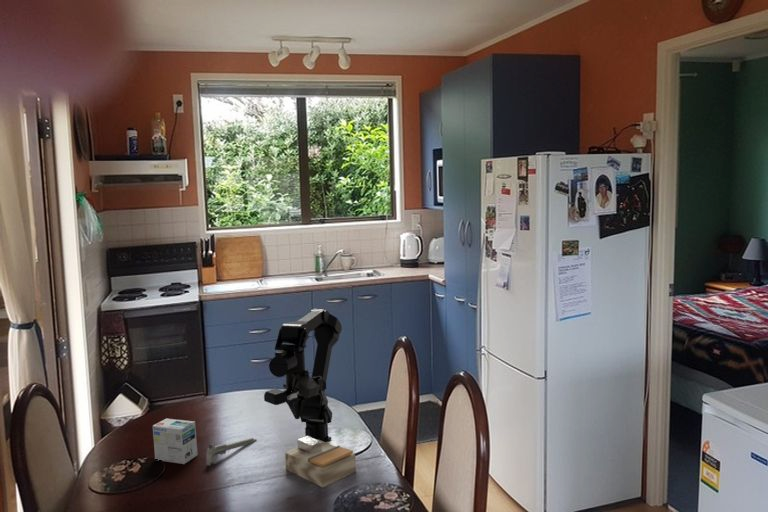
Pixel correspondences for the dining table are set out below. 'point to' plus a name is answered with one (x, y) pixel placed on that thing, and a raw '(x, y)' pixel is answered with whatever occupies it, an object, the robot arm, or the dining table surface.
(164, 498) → the dining table surface
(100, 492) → the dining table surface
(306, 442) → the steel pin
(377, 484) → the dining table surface
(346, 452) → the tan wooden plank
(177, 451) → the light bulb box
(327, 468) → the hitch block
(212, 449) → the caliper
